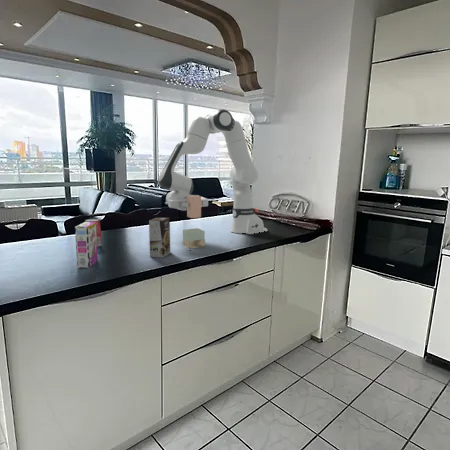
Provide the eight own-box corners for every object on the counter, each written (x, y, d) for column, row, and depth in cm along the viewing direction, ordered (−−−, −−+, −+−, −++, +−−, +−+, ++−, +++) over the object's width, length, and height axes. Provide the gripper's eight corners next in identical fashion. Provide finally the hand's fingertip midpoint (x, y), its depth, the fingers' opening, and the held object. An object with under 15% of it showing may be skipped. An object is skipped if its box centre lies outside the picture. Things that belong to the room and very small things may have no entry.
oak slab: (197, 243, 170) (197, 236, 169) (204, 247, 163) (204, 239, 162) (183, 245, 166) (182, 237, 165) (190, 249, 159) (189, 241, 158)
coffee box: (163, 257, 143) (162, 220, 140) (149, 256, 145) (148, 220, 142) (171, 252, 152) (170, 217, 149) (157, 251, 153) (156, 216, 150)
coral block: (196, 215, 165) (196, 195, 163) (201, 217, 161) (201, 196, 159) (187, 216, 163) (187, 195, 161) (191, 218, 158) (191, 196, 156)
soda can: (105, 245, 164) (103, 219, 161) (94, 248, 157) (93, 221, 155) (93, 244, 166) (91, 218, 163) (82, 247, 159) (80, 220, 157)
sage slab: (197, 236, 169) (197, 228, 168) (204, 239, 162) (204, 231, 161) (182, 237, 165) (182, 229, 164) (189, 241, 158) (189, 232, 158)
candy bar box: (90, 268, 128) (87, 226, 125) (77, 269, 128) (73, 226, 125) (98, 260, 139) (96, 221, 136) (86, 260, 139) (83, 221, 136)
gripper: (163, 196, 166) (174, 199, 154) (200, 194, 176) (213, 197, 164) (163, 208, 167) (174, 212, 155) (200, 206, 177) (213, 210, 165)
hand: (194, 204), depth 160 cm, fingers closed on coral block, 5 cm apart
